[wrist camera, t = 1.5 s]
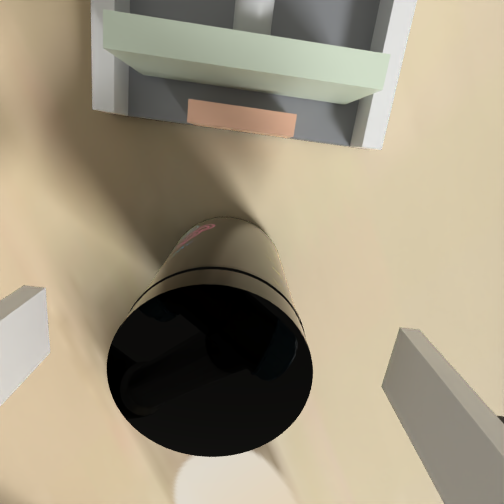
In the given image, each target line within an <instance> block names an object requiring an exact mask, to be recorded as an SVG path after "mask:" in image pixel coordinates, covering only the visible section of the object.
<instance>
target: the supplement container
mask: <svg viewBox="0 0 504 504" xmlns="http://www.w3.org/2000/svg"><path fill="white" fill-rule="evenodd" d="M107 378H108V384H109V388H110V391H111V394H112V397H113V399H114V401H115V403H116V405H117V407H118V409H119V410H120V412H121V413H122V415H123V416H124V417H125V418H126V420H127V421H128V422H129V423H130V424H131V425H132V426H133V427H134V428H135V429H136V430H138V431H139V432H140V433H141V434H143V435H144V436H145V437H147V438H148V439H150V440H152V441H153V442H155V443H157V444H159V445H161V446H163V447H165V448H168V449H171V450H174V451H177V452H180V453H184V454H189V455H195V456H207V457H217V456H228V455H235V454H240V453H243V452H247V451H250V450H253V449H255V448H258V447H260V446H262V445H264V444H266V443H268V442H270V441H272V440H273V439H275V438H276V437H278V436H279V435H280V434H282V433H283V432H284V431H285V430H286V429H287V428H288V427H290V425H291V424H292V423H293V422H294V421H295V420H296V418H297V417H298V416H299V414H300V413H301V411H302V410H303V408H304V406H305V404H306V402H307V399H308V397H309V394H310V390H311V386H312V379H313V366H312V359H311V354H310V351H309V347H308V344H307V341H306V338H305V333H304V329H303V326H302V322H301V319H300V317H299V315H298V313H297V311H296V309H295V306H294V302H293V299H292V296H291V293H290V289H289V286H288V283H287V280H286V277H285V273H284V270H283V267H282V264H281V260H280V257H279V254H278V251H277V249H276V247H275V245H274V243H273V242H272V240H271V239H270V238H269V237H268V236H267V234H266V233H265V232H263V231H262V230H261V229H260V228H258V227H257V226H255V225H253V224H252V223H249V222H247V221H245V220H241V219H237V218H231V217H219V218H213V219H209V220H206V221H203V222H201V223H199V224H197V225H195V226H194V227H192V228H191V229H190V230H188V231H187V232H186V233H185V234H184V235H183V236H182V238H181V239H180V240H179V242H178V243H177V245H176V246H175V248H174V249H173V251H172V252H171V254H170V255H169V257H168V258H167V259H166V261H165V262H164V264H163V265H162V267H161V268H160V270H159V271H158V273H157V274H156V276H155V277H154V279H153V280H152V282H151V283H150V285H149V286H148V288H147V289H146V290H145V291H144V293H143V294H142V295H141V296H140V297H139V298H138V300H137V301H136V302H135V304H134V305H133V307H132V308H131V310H130V312H129V314H128V316H127V317H126V318H125V320H124V321H123V323H122V324H121V326H120V327H119V329H118V331H117V332H116V334H115V336H114V338H113V341H112V343H111V346H110V349H109V353H108V359H107Z"/></svg>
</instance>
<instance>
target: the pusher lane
mask: <svg viewBox="0 0 504 504" xmlns="http://www.w3.org/2000/svg"><path fill="white" fill-rule="evenodd" d="M235 1H236V0H91V51H92V109H93V110H97V111H101V112H106V113H110V114H117V115H124V116H131V117H138V118H145V119H153V120H160V121H167V122H174V123H181V124H189V125H196V126H203V127H210V128H218V129H225V130H232V131H239V132H246V133H254V134H261V135H268V136H275V137H283V138H290V139H297V140H304V141H311V142H319V143H326V144H333V145H340V146H348V147H355V148H362V149H379V150H382V146H383V142H384V138H385V133H386V129H387V125H388V121H389V117H390V112H391V108H392V104H393V100H394V95H395V91H396V87H397V83H398V79H399V74H400V70H401V66H402V62H403V57H404V53H405V49H406V45H407V41H408V36H409V32H410V28H411V24H412V19H413V15H414V11H415V7H416V3H417V0H275V2H274V10H273V18H272V25H271V33H270V35H271V36H277V37H284V38H290V39H296V40H303V41H309V42H315V43H322V44H328V45H334V46H341V47H347V48H354V49H360V50H366V51H373V52H379V53H385V54H391V55H390V60H389V64H388V69H387V73H386V77H385V82H384V86H383V90H381V91H379V92H376V93H373V94H371V95H368V96H366V97H363V98H361V99H358V100H355V101H353V102H350V103H348V104H345V105H344V104H337V103H330V102H324V101H317V100H310V99H303V98H296V97H289V96H283V95H276V94H269V93H262V92H255V91H248V90H242V89H235V88H228V87H221V86H214V85H207V84H201V83H194V82H187V81H180V80H173V79H166V78H160V77H153V76H146V75H142V74H141V73H139V72H138V71H136V70H135V69H133V68H132V67H130V66H129V65H127V64H126V63H124V62H123V61H121V60H120V59H119V58H117V57H116V56H114V55H113V54H111V53H110V52H108V51H107V50H105V49H104V48H103V9H105V10H112V11H118V12H124V13H131V14H137V15H143V16H150V17H156V18H162V19H169V20H175V21H182V22H188V23H194V24H201V25H207V26H213V27H220V28H226V29H233V22H234V12H235Z"/></svg>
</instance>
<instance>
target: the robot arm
mask: <svg viewBox="0 0 504 504" xmlns="http://www.w3.org/2000/svg"><path fill="white" fill-rule="evenodd" d="M49 353H50V343H49V329H48V315H47V302H46V288H43V287H34V286H25V285H23V286H22V287H20V288H19V289H17V290H16V291H14V292H13V293H11V294H10V295H8V296H6V297H5V298H3V299H2V300H0V406H1V405H2V404H3V403H4V402H5V401H6V400H7V399H8V398H9V396H10V395H11V394H12V393H13V392H14V391H15V390H16V389H17V388H18V387H19V386H20V385H21V384H22V382H23V381H24V380H25V379H26V378H27V377H28V376H29V375H30V374H31V373H32V372H33V371H34V370H35V368H36V367H37V366H38V365H39V364H40V363H41V362H42V361H43V360H44V359H45V358H46V357H47V356H48V354H49ZM382 388H383V390H384V392H385V394H386V396H387V398H388V400H389V401H390V403H391V405H392V407H393V409H394V411H395V413H396V414H397V416H398V418H399V420H400V422H401V424H402V426H403V428H404V429H405V431H406V433H407V435H408V437H409V439H410V441H411V442H412V444H413V446H414V448H415V450H416V452H417V454H418V456H419V457H420V459H421V461H422V463H423V465H424V467H425V469H426V470H427V472H428V474H429V476H430V478H431V480H432V482H433V484H434V485H435V487H436V489H437V491H438V493H439V495H440V497H441V499H442V500H443V502H444V504H504V417H503V416H496V415H495V414H494V412H493V411H492V410H491V409H490V408H489V407H488V406H487V405H486V403H485V402H484V401H483V400H482V399H481V398H480V397H479V396H478V395H477V393H476V392H475V391H474V390H473V389H472V388H471V387H470V386H469V384H468V383H467V382H466V381H465V380H464V379H463V378H462V377H461V376H460V374H459V373H458V372H457V371H456V370H455V369H454V368H453V367H452V365H451V364H450V363H449V362H448V361H447V360H446V359H445V358H444V356H443V355H442V354H441V353H440V352H439V351H438V350H437V349H436V348H435V346H434V345H433V344H432V343H431V342H430V341H429V340H428V339H427V337H426V336H425V335H424V334H423V333H422V332H421V331H420V330H419V329H410V328H401V327H400V328H399V332H398V335H397V338H396V341H395V345H394V348H393V351H392V354H391V358H390V361H389V364H388V367H387V370H386V374H385V377H384V380H383V383H382Z"/></svg>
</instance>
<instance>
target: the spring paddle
mask: <svg viewBox="0 0 504 504" xmlns="http://www.w3.org/2000/svg"><path fill="white" fill-rule="evenodd" d="M274 2H275V0H236V1H235V12H234V22H233V29H226V28H220V27H213V26H207V25H201V24H194V23H188V22H182V21H175V20H169V19H162V18H156V17H150V16H143V15H137V14H131V13H124V12H118V11H112V10H105V9H103V48H104V49H105V50H107V51H108V52H110V53H111V54H113V55H114V56H116V57H117V58H119V59H120V60H121V61H123V62H124V63H126V64H127V65H129V66H130V67H132V68H133V69H135V70H136V71H138V72H139V73H141V74H142V75H146V76H153V77H160V78H166V79H173V80H180V81H187V82H194V83H201V84H207V85H214V86H221V87H228V88H235V89H242V90H248V91H255V92H262V93H269V94H276V95H283V96H289V97H296V98H303V99H310V100H317V101H324V102H330V103H337V104H344V105H345V104H348V103H350V102H353V101H355V100H358V99H361V98H363V97H366V96H368V95H371V94H373V93H376V92H379V91H381V90H383V86H384V82H385V77H386V73H387V69H388V64H389V60H390V55H391V54H385V53H379V52H373V51H366V50H360V49H354V48H347V47H341V46H334V45H328V44H322V43H315V42H309V41H303V40H296V39H290V38H284V37H277V36H271V35H270V33H271V25H272V18H273V10H274Z"/></svg>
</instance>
